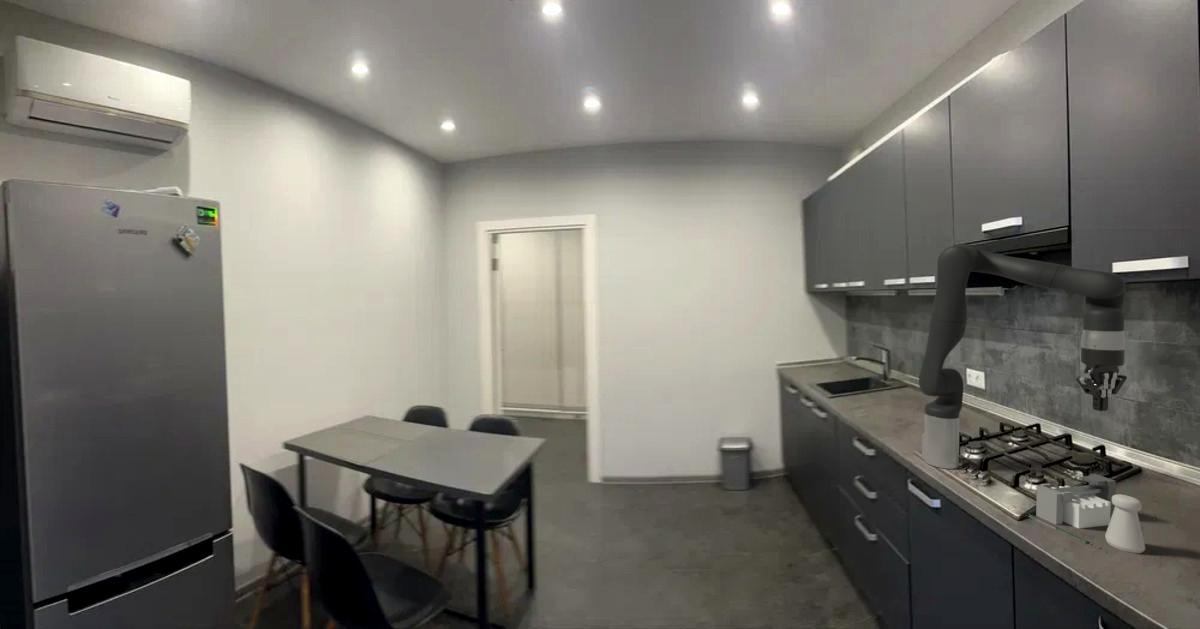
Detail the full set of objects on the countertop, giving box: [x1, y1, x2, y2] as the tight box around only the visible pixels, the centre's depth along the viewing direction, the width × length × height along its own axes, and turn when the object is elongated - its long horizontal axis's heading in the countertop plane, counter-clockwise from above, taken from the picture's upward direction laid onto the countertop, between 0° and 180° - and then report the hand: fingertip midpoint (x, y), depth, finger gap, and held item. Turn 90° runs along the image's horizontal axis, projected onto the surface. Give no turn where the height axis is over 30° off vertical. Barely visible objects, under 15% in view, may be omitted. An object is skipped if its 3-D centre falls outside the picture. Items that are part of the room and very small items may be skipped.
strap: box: [1048, 484, 1102, 496], centre depth 108 cm, size 3×13×1 cm, turn 96°
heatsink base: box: [1012, 483, 1111, 545], centre depth 109 cm, size 16×21×10 cm
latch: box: [1082, 473, 1117, 519], centre depth 109 cm, size 4×5×10 cm
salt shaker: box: [1104, 493, 1146, 554], centre depth 96 cm, size 6×6×13 cm
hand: (1100, 410), depth 114 cm, fingers closed
